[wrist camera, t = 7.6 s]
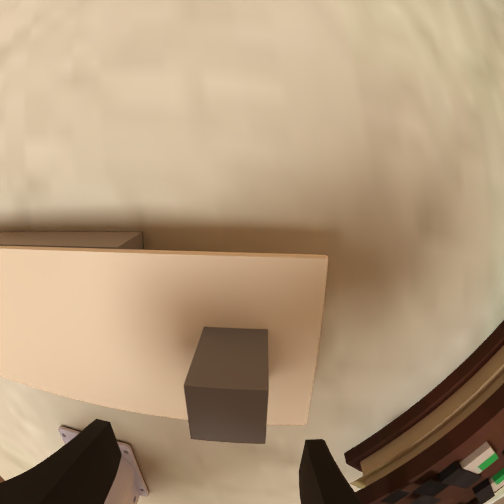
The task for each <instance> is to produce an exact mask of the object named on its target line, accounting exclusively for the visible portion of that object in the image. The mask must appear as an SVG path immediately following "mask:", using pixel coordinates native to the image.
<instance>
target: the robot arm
mask: <svg viewBox="0 0 504 504" xmlns="http://www.w3.org/2000/svg"><path fill="white" fill-rule="evenodd" d="M58 430H59V432H60V434H61V436H62V438H63V440H64V442H65V445H64V446H63V447H62V448H60V449H59V450H58V451H57V452H55V453H54V454H52V455H51V456H50V457H48V458H47V459H45V460H44V461H43V462H41V463H40V464H38V465H36V466H35V467H33V468H31V469H30V470H28V471H26V472H24V473H22V474H20V475H18V476H16V477H14V478H11V479H9V480H7V481H4V482H2V483H0V504H137V502H138V499H139V496H140V495H141V496H148V495H149V492H148V489H147V487H146V485H145V482H144V480H143V477H142V475H141V472H140V470H139V467H138V465H137V462H136V460H135V457H134V454H133V451H132V449H131V447H130V445H128V444H126V443H122V442H118V441H117V440H116V438H115V435H114V432H113V429H112V427H111V424H110V422H107V421H103V420H99V419H96V420H94V421H93V422H92V423H91V424H89V425H88V426H87V427H86V428H85V429H84V430H82V431H81V432H79V431H75V430H72V429H69V428H66V427H62V426H60V427H59V429H58ZM299 488H300V499H301V504H363V502H362V501H361V500H360V499H359V497H358V496H357V495H356V493H355V492H354V491H353V489H352V488H351V486H350V485H349V483H348V482H347V480H346V479H345V477H344V476H343V474H342V473H341V471H340V469H339V468H338V466H337V464H336V462H335V461H334V459H333V457H332V455H331V453H330V451H329V449H328V447H327V445H326V442H325V441H324V440H323V439H317V440H305V445H304V450H303V455H302V459H301V464H300V469H299Z"/></svg>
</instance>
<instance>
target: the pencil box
mask: <svg viewBox="0 0 504 504" xmlns="http://www.w3.org/2000/svg"><path fill="white" fill-rule="evenodd" d="M0 246H28V247H63V248H98V249H134V250H143V234H142V232H88V231H41V232H0Z"/></svg>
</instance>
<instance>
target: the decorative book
mask: <svg viewBox="0 0 504 504" xmlns="http://www.w3.org/2000/svg"><path fill="white" fill-rule="evenodd" d="M344 455H345V459H346V464H348V465H350V466H352V467H354V468H355V469H357V470H359V471H361V472H363V477H361V478H359V479H357V480H356V481H354V482H352V483H350V484H352V485H354V486H357V487H359V488H362V489H361V490H359V491H357V492H355V493H356V495H357V496H358V497H359V499H360V500H361V501H362V502H363V504H483V503H485V502H486V501H488V500H489V499H491V498H492V497H494V496H495V495H494V493H495V492H497V491H498V490H499V489H500V488H502V487H503V486H504V321H503V322H502V323H501V324H500V325H499V326H498V327H497V328H496V329H495V331H494V332H493V333H492V334H491V335H490V336H489V337H488V338H487V339H486V340H485V341H484V342H483V343H482V344H481V345H480V346H479V347H478V348H477V349H476V350H475V351H474V352H473V353H472V354H471V355H470V356H469V357H468V358H467V359H466V360H465V361H464V362H463V363H462V364H461V365H460V366H459V367H458V368H457V369H456V370H455V371H454V372H452V373H451V374H450V375H449V376H448V377H447V378H446V379H445V380H444V381H442V382H441V383H440V384H439V385H438V386H437V387H435V388H434V389H433V390H432V391H431V392H430V393H428V394H427V395H426V396H425V397H423V398H422V399H421V400H420V401H419V402H417V403H416V404H415V405H413V406H412V407H411V408H410V409H408V410H407V411H406V412H404V413H403V414H402V415H400V416H399V417H398V418H396V419H395V420H394V421H392V422H391V423H390V424H388V425H387V426H385V427H384V428H382V429H381V430H380V431H378V432H377V433H375V434H374V435H372V436H371V437H369V438H368V439H366V440H365V441H363V442H362V443H360V444H359V445H357V446H355V447H354V448H352V449H351V450H349V451H347V452H346V453H344Z"/></svg>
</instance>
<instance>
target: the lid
mask: <svg viewBox="0 0 504 504" xmlns="http://www.w3.org/2000/svg"><path fill="white" fill-rule="evenodd" d="M327 268H328V257H327V256H326V255H315V254H279V253H242V252H206V251H170V250H134V249H98V248H63V247H28V246H0V376H2V377H5V378H7V379H10V380H13V381H16V382H19V383H22V384H25V385H28V386H31V387H34V388H37V389H40V390H43V391H47V392H50V393H53V394H57V395H61V396H64V397H68V398H72V399H76V400H79V401H84V402H88V403H92V404H96V405H101V406H105V407H110V408H115V409H120V410H125V411H131V412H136V413H142V414H148V415H155V416H161V417H169V418H176V419H185V420H188V422H189V428H190V435H191V439H197V440H207V441H219V442H233V443H255V444H265V438H266V425H306V424H307V418H308V413H309V407H310V401H311V395H312V389H313V382H314V376H315V369H316V362H317V355H318V348H319V340H320V333H321V324H322V316H323V307H324V298H325V289H326V279H327Z"/></svg>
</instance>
